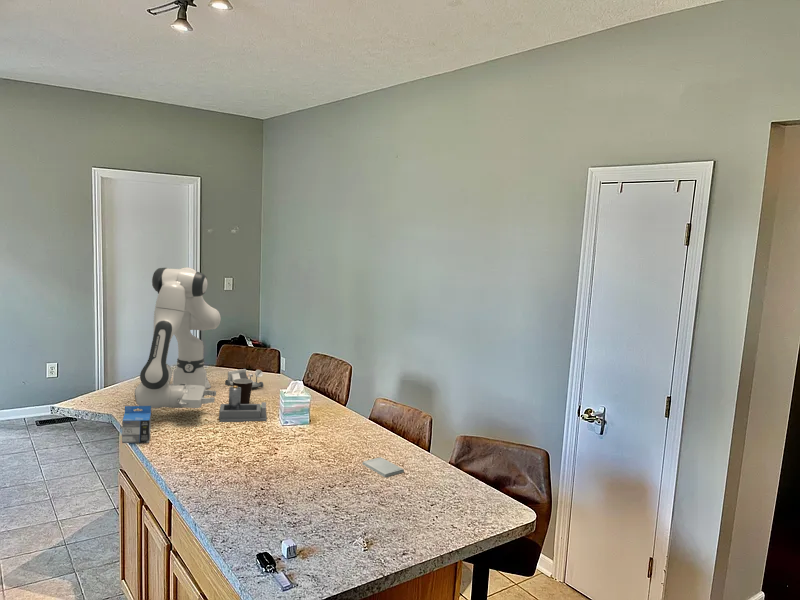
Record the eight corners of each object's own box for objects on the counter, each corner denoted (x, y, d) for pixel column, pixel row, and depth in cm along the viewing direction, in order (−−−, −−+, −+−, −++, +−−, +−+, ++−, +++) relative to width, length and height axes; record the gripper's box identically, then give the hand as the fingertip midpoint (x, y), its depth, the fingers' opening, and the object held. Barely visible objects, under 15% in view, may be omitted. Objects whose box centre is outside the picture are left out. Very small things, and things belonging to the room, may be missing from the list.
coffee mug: (248, 406, 250) (249, 384, 249) (229, 405, 250) (229, 382, 249) (255, 399, 262) (256, 377, 261) (237, 397, 262) (238, 376, 261)
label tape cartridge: (121, 443, 199) (121, 409, 198) (123, 439, 203) (124, 405, 202) (148, 443, 202) (149, 408, 200) (150, 439, 205) (151, 405, 204)
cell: (228, 412, 237) (229, 384, 235) (239, 412, 238) (241, 384, 237) (227, 416, 232) (229, 387, 231) (239, 416, 233) (241, 387, 232)
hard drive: (404, 469, 192) (381, 456, 201) (385, 474, 187) (362, 461, 196) (403, 473, 192) (380, 461, 201) (384, 479, 187) (362, 465, 196)
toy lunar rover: (267, 369, 280) (248, 373, 270) (266, 389, 281) (247, 393, 272) (245, 362, 291) (225, 365, 282) (244, 381, 292) (224, 385, 283)
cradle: (220, 412, 240) (221, 400, 239) (266, 412, 244) (266, 400, 244) (218, 421, 228) (219, 409, 227) (266, 421, 232) (266, 409, 232)
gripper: (175, 396, 219) (213, 396, 222) (182, 382, 238) (217, 382, 242) (175, 412, 219) (213, 412, 223) (182, 397, 239) (216, 397, 242)
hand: (215, 396), depth 232 cm, fingers open, 8 cm apart
